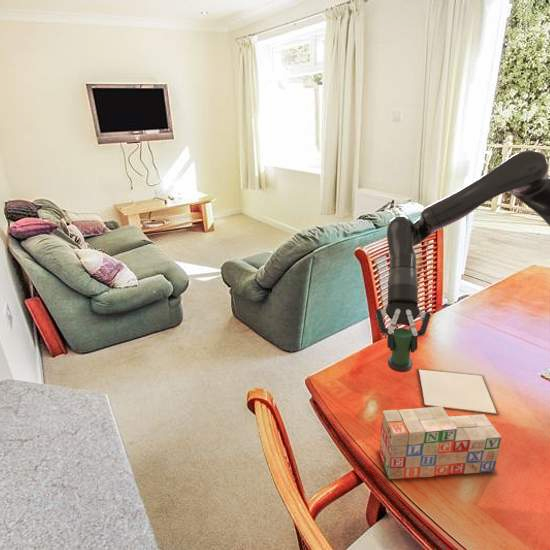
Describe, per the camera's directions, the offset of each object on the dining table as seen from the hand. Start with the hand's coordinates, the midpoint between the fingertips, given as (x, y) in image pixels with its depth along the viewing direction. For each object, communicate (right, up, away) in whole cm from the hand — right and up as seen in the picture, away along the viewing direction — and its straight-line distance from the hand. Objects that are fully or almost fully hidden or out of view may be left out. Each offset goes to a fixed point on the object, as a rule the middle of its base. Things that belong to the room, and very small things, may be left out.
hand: (401, 350), depth 94 cm
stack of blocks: (+1, -20, -16) cm, 26 cm away
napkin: (+15, -11, +3) cm, 18 cm away
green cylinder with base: (+1, -5, +4) cm, 6 cm away
